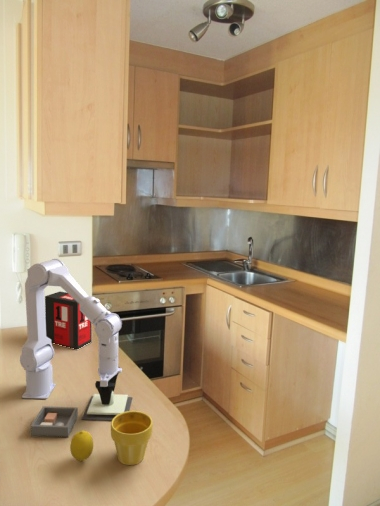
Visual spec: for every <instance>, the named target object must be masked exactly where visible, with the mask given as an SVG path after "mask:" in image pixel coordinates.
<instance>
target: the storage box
mask: <svg viewBox="0 0 380 506" xmlns="http://www.w3.org/2000/svg"><path fill="white" fill-rule="evenodd" d="M78 408H79V407H76V406H75V407H74V406H50V405H49V406H46V405H44V406H43V405H42V408H41V409H40V411H39V412H38V414H37V415H36V417H35V418H34V420H33V421H32V423H31V425H30V437H38V438H39V437H43V438H65V439H66V438H69V436H70V434H71V432H72V430H73V428H74V426H75V423H76V421H77V419H78V416H79V415H78V414H79V412H78V411H79V410H78Z"/></svg>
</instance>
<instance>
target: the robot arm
mask: <svg viewBox="0 0 380 506" xmlns="http://www.w3.org/2000/svg"><path fill="white" fill-rule="evenodd" d="M26 272H27V277H26V279H25V283H24V292H25V309H26V310H25V311H26V327H27V339H26V340H25V343H24V344H23V346H22V347H21V355H20V357H19V362H20V365H21V367H22V368H23V370H24V371H25V382H26V386H25V387H26V388H25V391H24V393H23V394H22V395H21V398H22V399H41V400H45V399H48V398H49V396H50V394H51V393H52V392H53V390H54V388H55V387H56V386H57V385H56V383H55V382H54V381H53V380H54V373H53V371H54V369H53V365H52V361H51V360H53V358H54V356H55V349H54V347H53V344H52V343H51V339H49V338H48V337H46V319H45V289H46V288H47V287H48V286H49V287H50V286H51V287H60V288H61V289H62V290H63V291H64V292H66V293H68V294H69V295H70V296H71V297H72V298H73V299H75V300H76V301H77V302H78V303H79V304H80V311H81V312H82V313H83V314H84V315H85V316H86V317H87V318H88V319H89V320H90V321H91V325H92V324H93V326H94V331H95V334H96V336H97V339H98V369H97V373H98V377H99V379H100V380H96V381H95V383H94V385H95V389H96V390H97V391H98V392H97V393H98V394H100V398H101V402H102V405H109V403H110V400H111V394H112V391H113V392H114V393H115V389H116V384H117V378H118V376H119V374H121V373H122V371H123V368H122V367H120V366H119V331H120V330H121V329H122V327H123V326H122V325H123V321H122V319H121V318H120V316H119V314H117V313H114V312H111V311H109V310H108V309H107V308H106V307H105V306H104V305H103V304H102V303H101V300H100V299H99V298H96V297H95V296H90V295H88V294H87V292H86V291H85V290H84V289H83V288H82V286H80V284H79V283H78V281H76V280H75V278H74V276H72V275H71V274H70V270H69V267H68V266H67V265H65V263H64V262H63V261H62V260H61V259H59V258H52V259H50V260H47V261H42V262H39V263H33V265H31V266H30V267H28V269H27V271H26Z"/></svg>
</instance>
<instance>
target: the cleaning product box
mask: <svg viewBox="0 0 380 506" xmlns="http://www.w3.org/2000/svg"><path fill="white" fill-rule="evenodd" d="M44 298H45V319H46V337H48V338H49V339H51V343H55V344H59V345H62V346H61V347H63V346H66V347H65V348H67V347H70V348H69V349H71V348H74V349H73V350H75V349H79V348H81V347H83V346H84V345H86V344H88V343H90V342H91V343H92V323H91V321H90V320H89V319H88V318H87V317H86V316H85V315H84V314H83V313H82V312H81V311H80V304H79V303H78V302H77V301H76V300H75V299H73V298H72V297H71V296H70V295H69V294H68V293H67V292H66V291H57V292H54V293H51V294H48V295H44ZM91 343H90V344H91ZM55 344H54V345H55ZM59 345H58V346H59ZM88 345H89V344H88ZM86 346H87V345H86ZM83 348H84V347H83ZM81 349H82V348H81ZM79 350H80V349H79Z"/></svg>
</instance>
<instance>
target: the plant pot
mask: <svg viewBox="0 0 380 506" xmlns="http://www.w3.org/2000/svg"><path fill="white" fill-rule="evenodd" d="M110 422H111V423H110V437H111V440H112V441H114V446H115V451H116V455H117V459H118V461H119V462H120V463H121V464H123V465H125V466H133V465H139V464H140V463H141V462H142V461H143V460H144V457H145V455H146V449H147V448H148V442H149V441H150V439H151V438H152V434H153V425H154V424H153V423H154V421H153V418H152V417H151V415H149V414H148V413H146V412H143V411H140V410H138V411H137V410H129V411H126V412H123V413H120V414H118V415H117V416H115V417H114V418H113V420H112V421H110Z"/></svg>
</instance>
